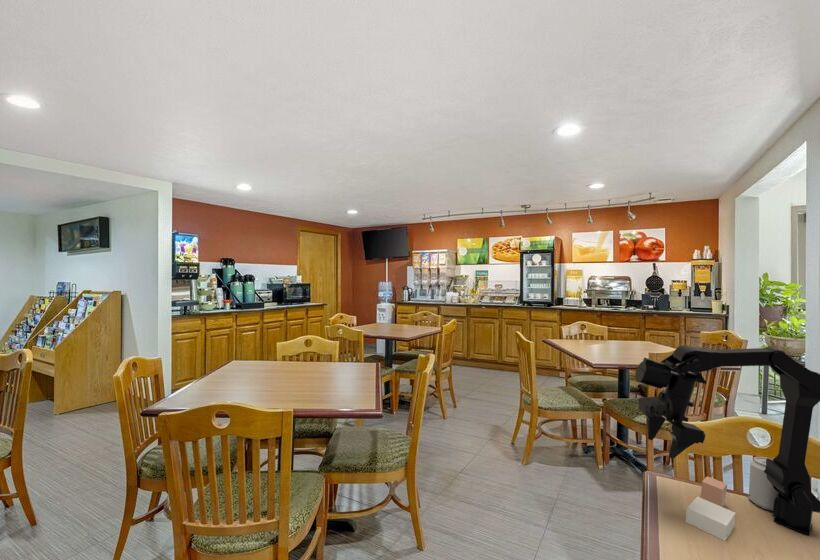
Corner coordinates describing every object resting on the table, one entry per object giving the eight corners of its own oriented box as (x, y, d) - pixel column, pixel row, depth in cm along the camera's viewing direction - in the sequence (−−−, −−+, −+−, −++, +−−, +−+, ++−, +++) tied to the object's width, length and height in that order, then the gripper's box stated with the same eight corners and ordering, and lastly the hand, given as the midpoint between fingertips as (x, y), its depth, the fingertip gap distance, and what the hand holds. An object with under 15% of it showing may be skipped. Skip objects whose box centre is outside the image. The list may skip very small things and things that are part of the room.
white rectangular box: (734, 528, 99) (735, 512, 98) (725, 541, 94) (726, 525, 93) (695, 511, 105) (697, 496, 105) (685, 523, 100) (686, 507, 99)
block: (725, 505, 107) (727, 483, 107) (720, 511, 105) (722, 489, 104) (704, 497, 111) (706, 476, 110) (700, 503, 108) (702, 481, 108)
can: (793, 513, 105) (796, 468, 104) (765, 512, 104) (768, 467, 104) (767, 497, 112) (769, 454, 112) (741, 496, 112) (743, 454, 112)
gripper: (629, 374, 114) (613, 425, 115) (671, 401, 95) (651, 461, 97) (667, 383, 114) (650, 433, 116) (716, 411, 95) (695, 471, 97)
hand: (660, 448), depth 106 cm, fingers open, 9 cm apart
